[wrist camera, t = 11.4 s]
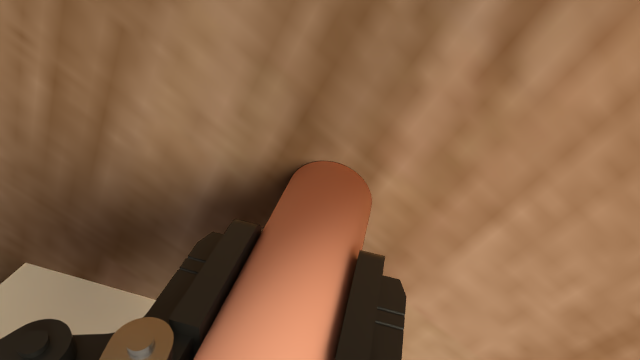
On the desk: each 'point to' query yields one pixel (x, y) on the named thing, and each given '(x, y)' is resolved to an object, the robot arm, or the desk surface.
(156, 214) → the desk surface
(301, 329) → the dowel
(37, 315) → the socket block
